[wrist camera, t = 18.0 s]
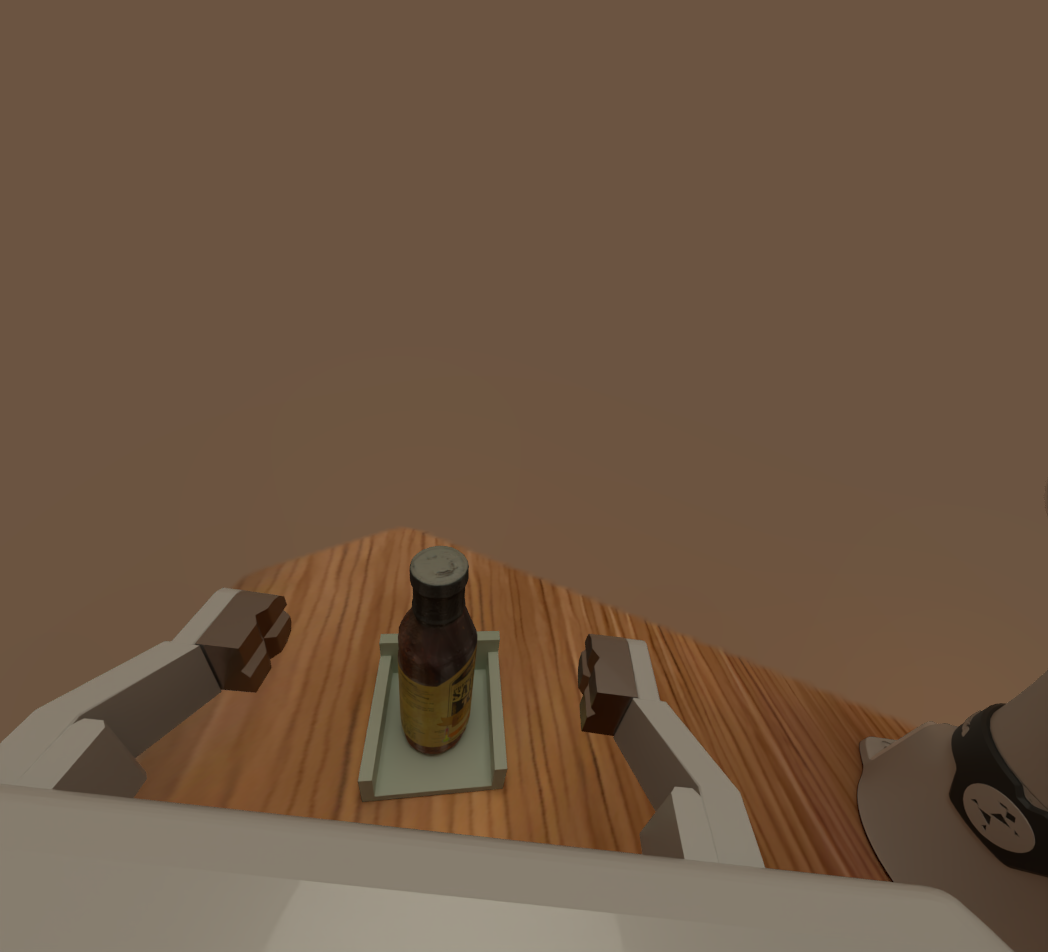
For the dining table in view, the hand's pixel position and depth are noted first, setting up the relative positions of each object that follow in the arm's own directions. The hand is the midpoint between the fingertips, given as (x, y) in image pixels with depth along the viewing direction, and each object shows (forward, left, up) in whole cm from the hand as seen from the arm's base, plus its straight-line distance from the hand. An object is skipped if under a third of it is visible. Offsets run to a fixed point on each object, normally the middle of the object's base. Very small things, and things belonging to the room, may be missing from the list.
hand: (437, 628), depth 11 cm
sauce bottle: (0, -13, -31) cm, 34 cm away
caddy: (0, -13, -32) cm, 35 cm away
